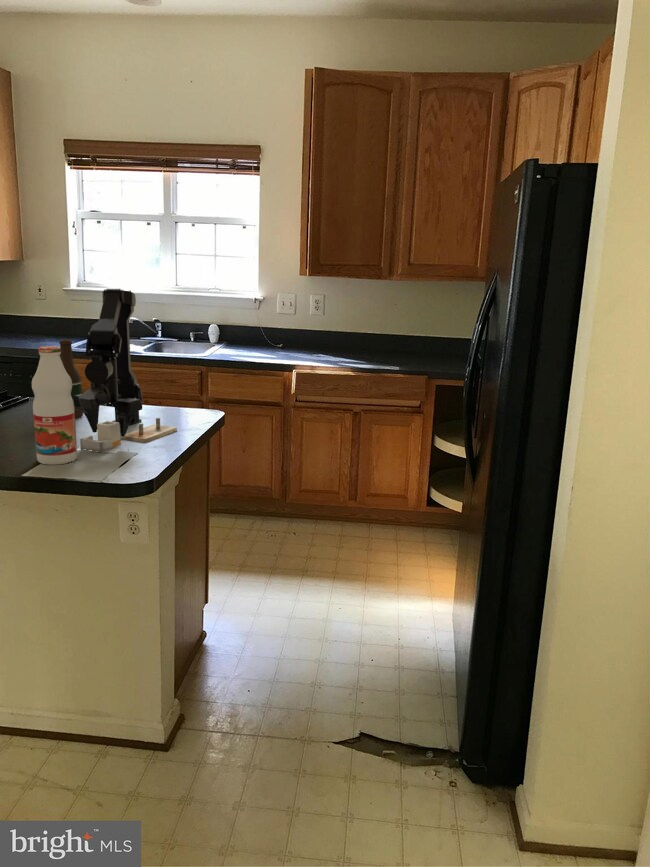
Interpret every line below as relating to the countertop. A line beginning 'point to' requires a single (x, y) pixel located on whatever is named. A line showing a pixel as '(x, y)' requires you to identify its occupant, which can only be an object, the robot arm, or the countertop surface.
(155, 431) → the pin board
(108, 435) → the sleeve
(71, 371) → the beer bottle
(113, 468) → the countertop surface
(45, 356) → the fruit juice
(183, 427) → the countertop surface
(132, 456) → the countertop surface
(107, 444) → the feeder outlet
